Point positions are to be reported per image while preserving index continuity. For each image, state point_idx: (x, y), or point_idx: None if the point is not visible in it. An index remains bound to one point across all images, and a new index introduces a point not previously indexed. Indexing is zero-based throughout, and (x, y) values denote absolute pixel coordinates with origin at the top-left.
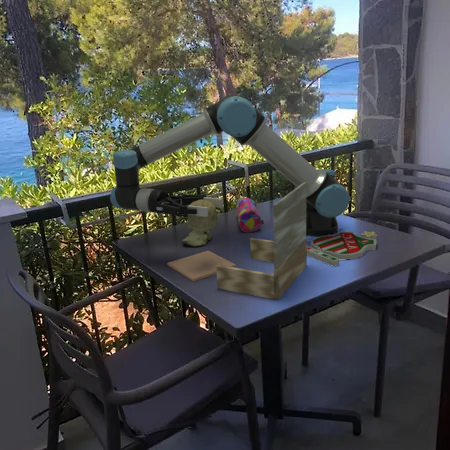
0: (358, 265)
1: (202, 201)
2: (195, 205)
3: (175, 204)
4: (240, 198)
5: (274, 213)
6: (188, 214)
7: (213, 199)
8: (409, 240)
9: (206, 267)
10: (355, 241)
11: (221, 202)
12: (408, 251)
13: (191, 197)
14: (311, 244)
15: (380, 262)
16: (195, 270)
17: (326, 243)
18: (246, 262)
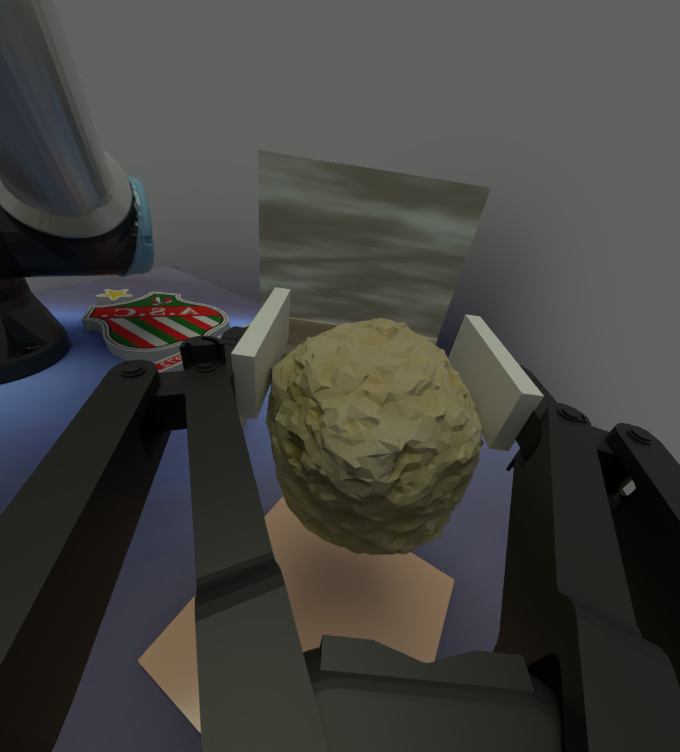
0: (250, 319)
1: (401, 332)
2: (447, 379)
3: (615, 544)
4: None
5: (480, 212)
6: (507, 447)
7: (277, 318)
8: (142, 279)
9: (346, 571)
10: (156, 307)
11: (288, 308)
12: (191, 284)
13: (228, 461)
14: (158, 351)
15: (236, 304)
16: (388, 607)
17: (160, 333)
18: (255, 466)
